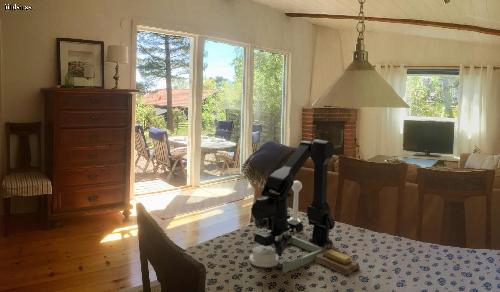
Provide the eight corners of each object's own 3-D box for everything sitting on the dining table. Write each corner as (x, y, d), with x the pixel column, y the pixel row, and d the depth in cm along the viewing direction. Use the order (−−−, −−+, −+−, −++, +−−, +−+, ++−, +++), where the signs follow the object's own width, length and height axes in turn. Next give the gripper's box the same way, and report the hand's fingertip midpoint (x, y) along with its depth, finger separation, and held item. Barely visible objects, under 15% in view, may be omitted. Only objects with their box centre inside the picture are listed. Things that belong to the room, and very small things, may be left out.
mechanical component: (244, 264, 132) (272, 270, 128) (244, 251, 131) (272, 258, 127) (256, 253, 141) (283, 259, 137) (257, 241, 140) (283, 246, 136)
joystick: (299, 231, 163) (302, 184, 160) (281, 230, 164) (283, 183, 161) (300, 222, 174) (302, 178, 170) (282, 221, 175) (284, 176, 171)
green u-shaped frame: (290, 241, 152) (290, 235, 152) (324, 255, 141) (324, 249, 140) (251, 255, 139) (251, 249, 138) (284, 272, 127) (285, 265, 127)
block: (324, 262, 136) (325, 251, 135) (330, 260, 138) (330, 249, 137) (344, 271, 130) (345, 259, 129) (349, 268, 132) (350, 257, 131)
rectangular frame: (327, 255, 141) (328, 250, 141) (358, 268, 132) (359, 262, 132) (315, 261, 136) (315, 255, 136) (346, 274, 127) (346, 269, 127)
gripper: (280, 200, 145) (281, 241, 147) (241, 213, 132) (243, 257, 135) (304, 207, 136) (304, 250, 139) (265, 221, 124) (266, 268, 127)
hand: (279, 255), depth 135 cm, fingers closed
